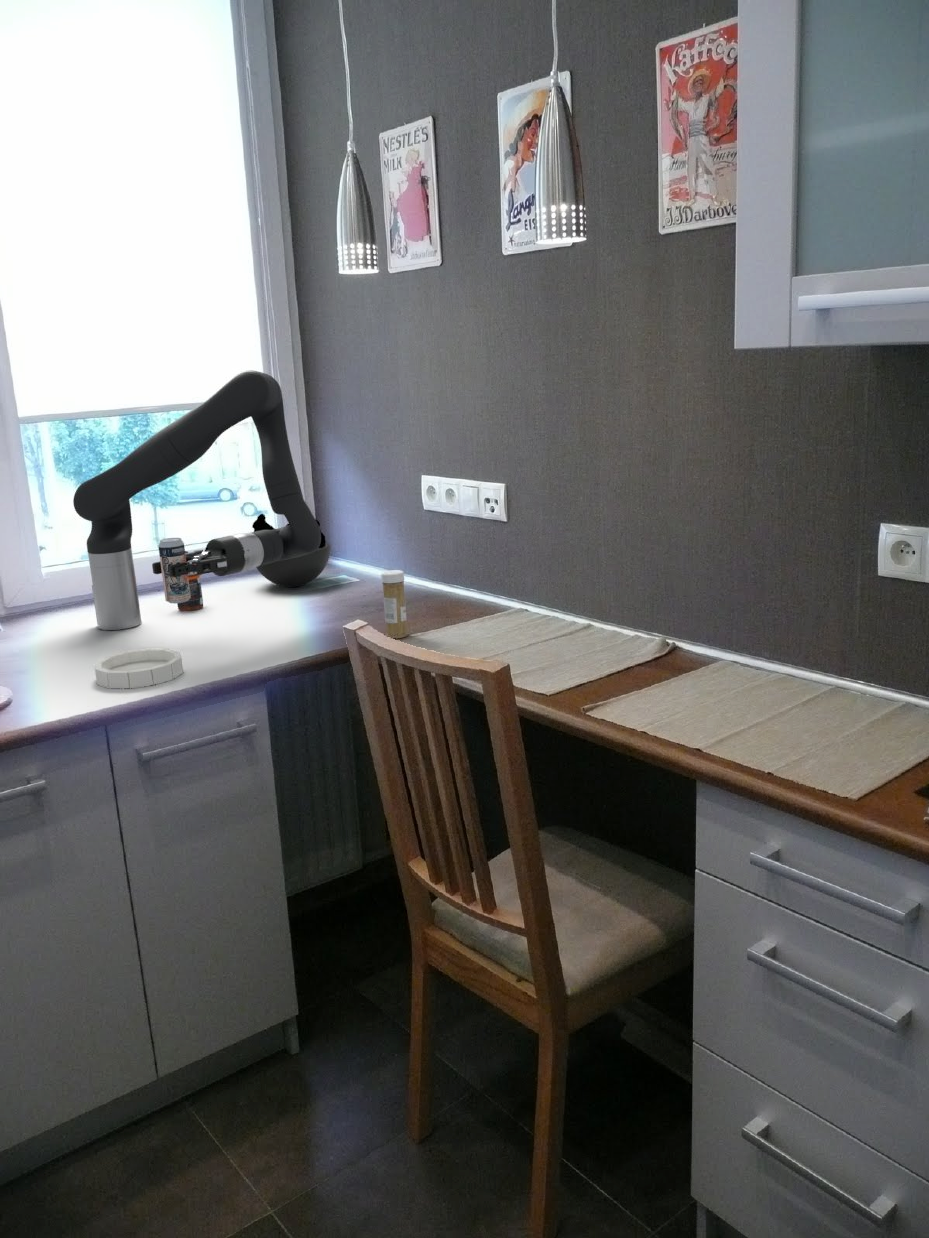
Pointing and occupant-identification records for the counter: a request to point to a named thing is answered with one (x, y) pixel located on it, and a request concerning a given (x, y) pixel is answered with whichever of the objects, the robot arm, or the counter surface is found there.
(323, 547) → the coal bowl
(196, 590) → the supplement bottle
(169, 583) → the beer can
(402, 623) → the sprinkles bottle
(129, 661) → the white segmented ring
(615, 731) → the counter surface
